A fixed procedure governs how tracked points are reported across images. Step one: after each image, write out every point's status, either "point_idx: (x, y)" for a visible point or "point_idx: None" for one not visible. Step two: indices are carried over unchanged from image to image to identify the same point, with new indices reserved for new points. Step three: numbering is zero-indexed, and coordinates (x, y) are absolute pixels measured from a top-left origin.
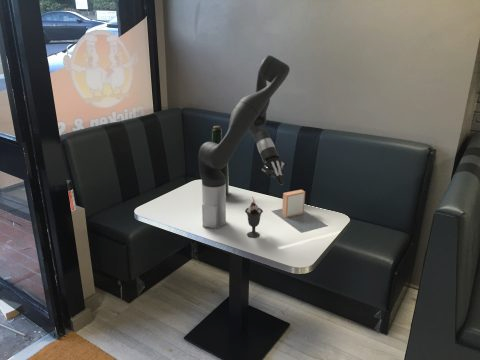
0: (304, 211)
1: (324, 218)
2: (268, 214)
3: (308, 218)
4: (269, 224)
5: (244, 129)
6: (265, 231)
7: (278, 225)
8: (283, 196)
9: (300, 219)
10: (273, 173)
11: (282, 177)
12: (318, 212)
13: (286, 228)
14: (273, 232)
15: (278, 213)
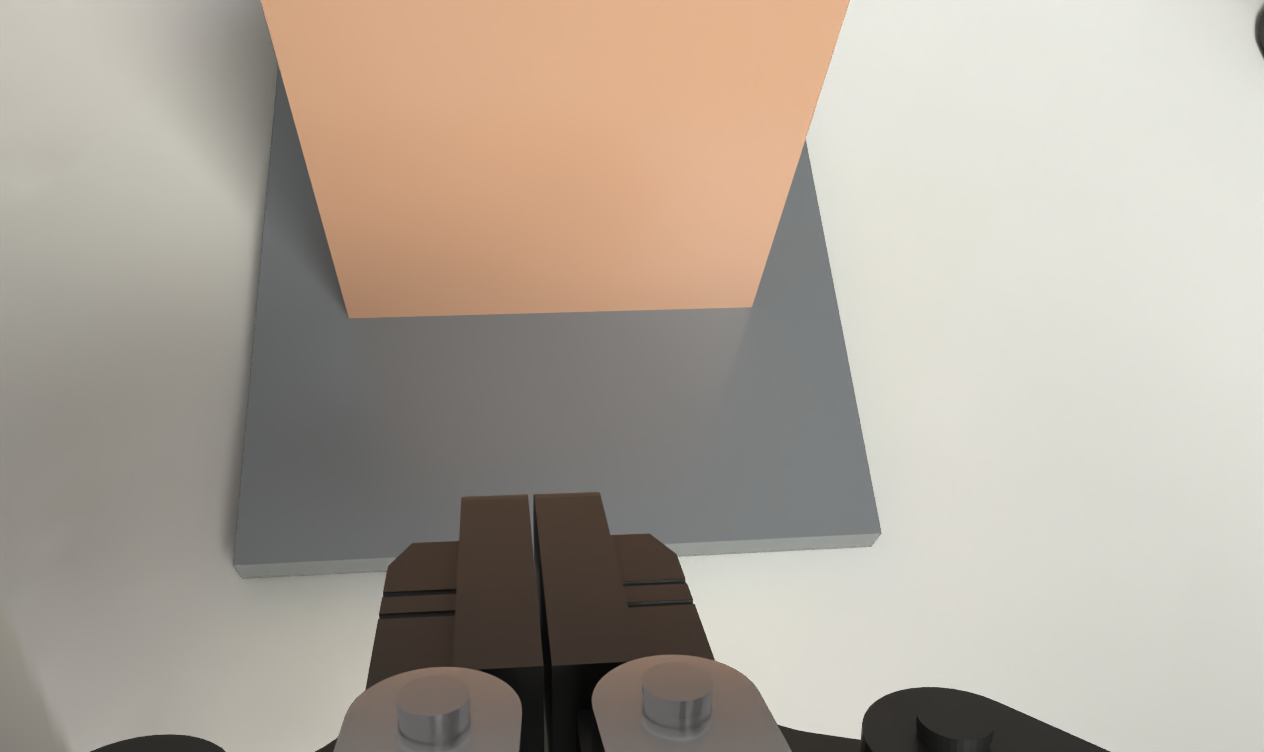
0: (278, 271)
1: (125, 39)
2: (944, 502)
3: None
4: (1048, 196)
5: None
6: (1163, 65)
7: (925, 125)
8: (837, 11)
9: None
10: (964, 735)
11: (384, 660)
12: (27, 225)
13: (849, 25)
14: (1063, 10)
15: (786, 384)
